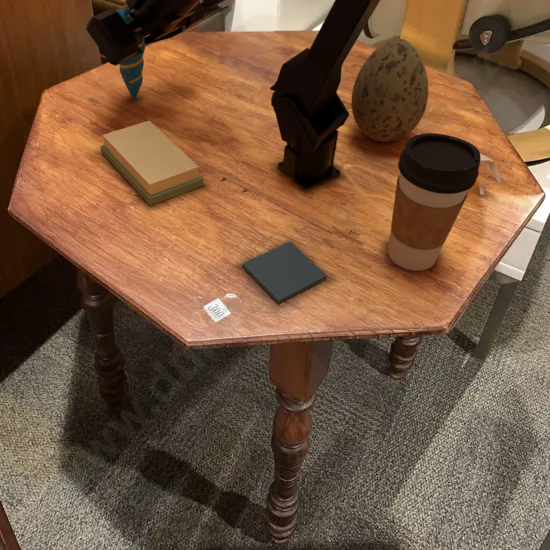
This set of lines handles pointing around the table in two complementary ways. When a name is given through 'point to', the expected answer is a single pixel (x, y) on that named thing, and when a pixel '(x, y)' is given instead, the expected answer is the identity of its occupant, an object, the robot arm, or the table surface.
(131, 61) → the ornament
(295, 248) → the mat
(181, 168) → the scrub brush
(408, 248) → the coffee cup
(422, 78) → the decorative egg
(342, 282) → the table surface
